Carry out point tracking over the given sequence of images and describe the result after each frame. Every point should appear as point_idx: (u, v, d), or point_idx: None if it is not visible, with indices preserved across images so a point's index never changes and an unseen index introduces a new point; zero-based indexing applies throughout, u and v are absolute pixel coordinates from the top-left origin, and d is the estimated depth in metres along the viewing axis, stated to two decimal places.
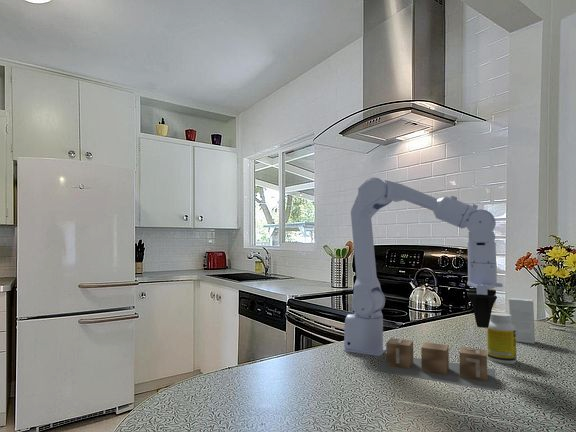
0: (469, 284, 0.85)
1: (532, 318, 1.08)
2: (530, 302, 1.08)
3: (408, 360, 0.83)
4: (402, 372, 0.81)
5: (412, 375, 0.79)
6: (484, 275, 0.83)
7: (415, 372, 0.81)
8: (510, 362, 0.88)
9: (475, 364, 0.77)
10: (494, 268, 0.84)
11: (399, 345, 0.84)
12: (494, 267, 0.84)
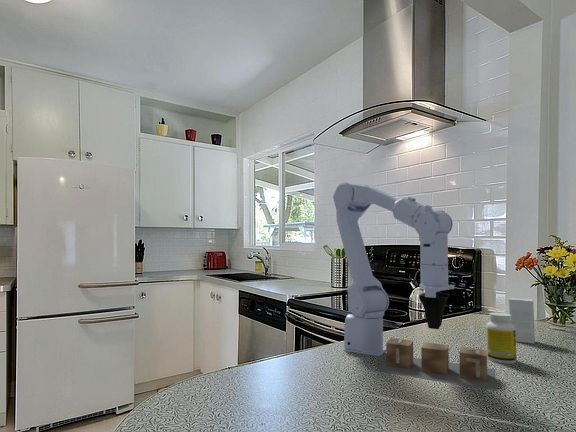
0: (421, 286, 0.84)
1: (532, 318, 1.08)
2: (530, 302, 1.08)
3: (408, 360, 0.83)
4: (402, 372, 0.81)
5: (412, 375, 0.79)
6: (435, 277, 0.82)
7: (415, 372, 0.81)
8: (510, 362, 0.88)
9: (475, 364, 0.77)
10: (445, 270, 0.82)
11: (399, 345, 0.84)
12: (445, 268, 0.82)
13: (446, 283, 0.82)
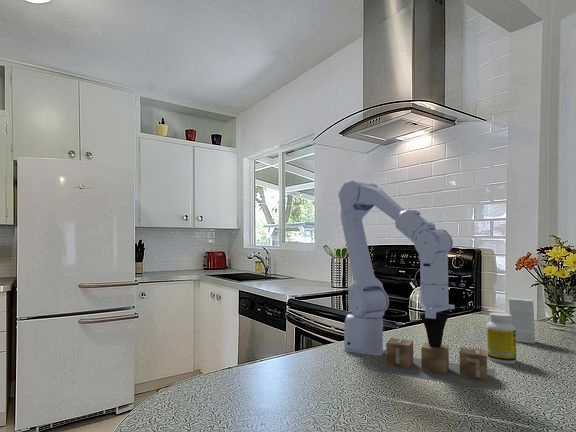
0: (421, 306, 0.83)
1: (532, 318, 1.08)
2: (530, 302, 1.08)
3: (408, 360, 0.83)
4: (402, 372, 0.81)
5: (412, 375, 0.79)
6: (435, 298, 0.81)
7: (415, 372, 0.81)
8: (510, 362, 0.88)
9: (475, 364, 0.77)
10: (445, 290, 0.82)
11: (399, 345, 0.84)
12: (445, 288, 0.82)
13: (446, 303, 0.82)
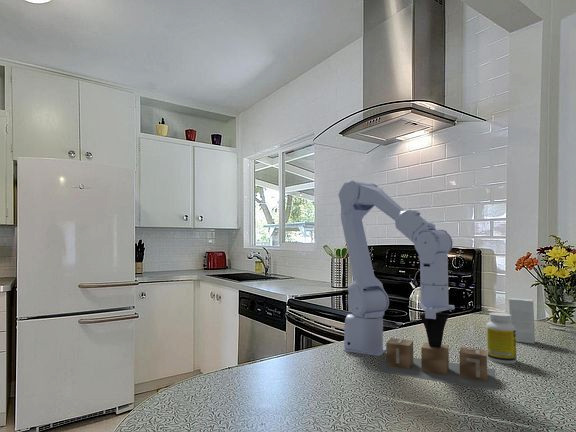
0: (421, 306, 0.83)
1: (532, 318, 1.08)
2: (530, 302, 1.08)
3: (408, 360, 0.83)
4: (402, 372, 0.81)
5: (412, 375, 0.79)
6: (435, 298, 0.81)
7: (415, 372, 0.81)
8: (510, 362, 0.88)
9: (475, 364, 0.77)
10: (445, 290, 0.82)
11: (399, 345, 0.84)
12: (445, 289, 0.82)
13: (446, 303, 0.82)
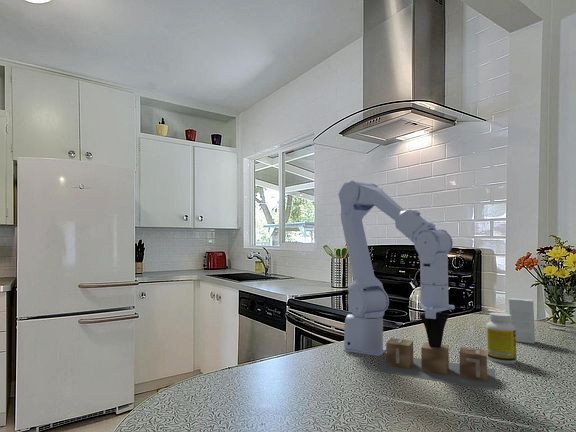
0: (421, 306, 0.83)
1: (532, 318, 1.08)
2: (530, 302, 1.08)
3: (408, 360, 0.83)
4: (402, 372, 0.81)
5: (412, 375, 0.79)
6: (435, 298, 0.81)
7: (415, 372, 0.81)
8: (510, 362, 0.88)
9: (475, 364, 0.77)
10: (445, 290, 0.82)
11: (399, 345, 0.84)
12: (445, 288, 0.82)
13: (446, 303, 0.82)
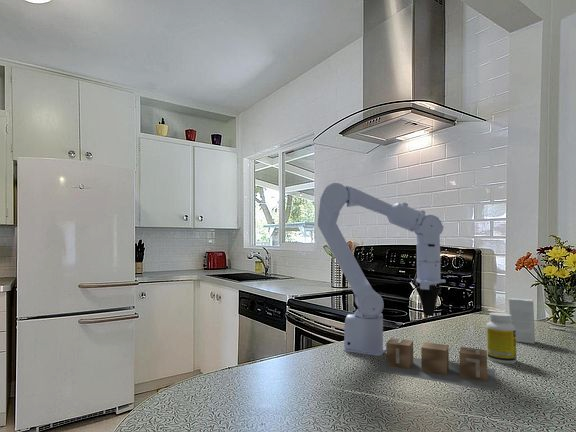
0: (417, 280, 0.97)
1: (532, 318, 1.08)
2: (530, 302, 1.08)
3: (408, 360, 0.83)
4: (402, 372, 0.81)
5: (412, 375, 0.79)
6: (429, 273, 0.95)
7: (415, 372, 0.81)
8: (510, 362, 0.88)
9: (475, 364, 0.77)
10: (438, 266, 0.96)
11: (399, 345, 0.84)
12: (437, 265, 0.96)
13: (438, 277, 0.96)
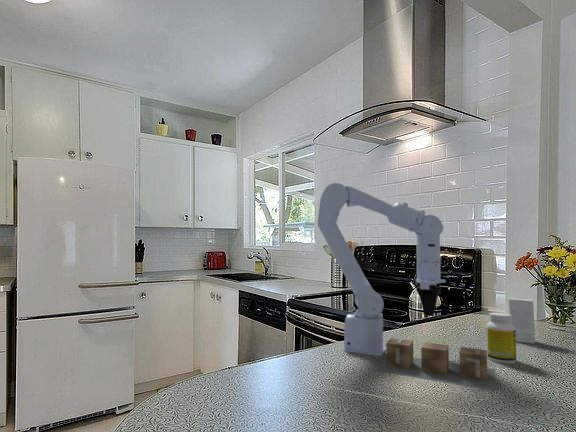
0: (417, 280, 0.97)
1: (532, 318, 1.08)
2: (530, 302, 1.08)
3: (408, 360, 0.83)
4: (402, 372, 0.81)
5: (412, 375, 0.79)
6: (429, 273, 0.95)
7: (415, 372, 0.81)
8: (510, 362, 0.88)
9: (475, 364, 0.77)
10: (438, 266, 0.96)
11: (399, 345, 0.84)
12: (437, 265, 0.96)
13: (438, 277, 0.96)
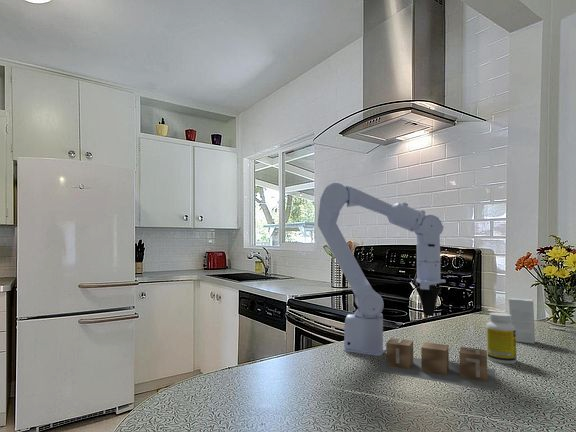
0: (417, 280, 0.97)
1: (532, 318, 1.08)
2: (530, 302, 1.08)
3: (408, 360, 0.83)
4: (402, 372, 0.81)
5: (412, 375, 0.79)
6: (429, 273, 0.95)
7: (415, 372, 0.81)
8: (510, 362, 0.88)
9: (475, 364, 0.77)
10: (438, 266, 0.96)
11: (399, 345, 0.84)
12: (437, 265, 0.96)
13: (438, 277, 0.96)
